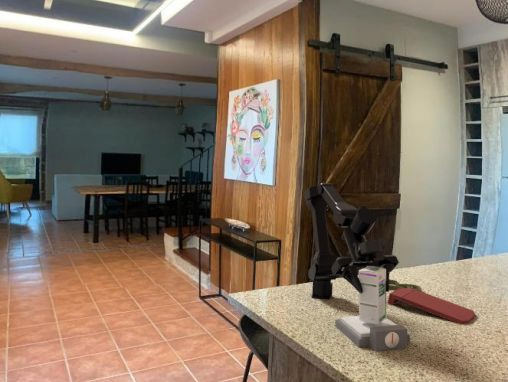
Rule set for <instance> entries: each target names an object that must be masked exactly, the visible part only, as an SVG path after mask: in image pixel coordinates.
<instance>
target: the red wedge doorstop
mask: <svg viewBox="0 0 508 382" xmlns="http://www.w3.org/2000/svg"><path fill="white" fill-rule="evenodd" d="M388 293H389V295H388V299H387V302H386V305H387V304H388V305H392V306H394V305H396V304H397V303H400V302H402V303H405V304H408V305H410V306H413V307H415V308H418V309H420V310H422V311H425V312H427V313H429V314H432V315H435V316H437V317H441V318H443V319H445V320H447V321H448V320H449V321H451V322H453V323H455V324H459V325H466V324H469V323H471V322H472V320H474V319H475V317H476V313H475V311H474V310H473V309H470V308H467V307H464V306H462V305H460V304H456V303H454V302H451V301H448V300H446V299H443V298H440V297H437V296H434V295H432V294H429V293H426V292H423V291H422V292H421V291H418V290H415V289H407V288H402V289H400V288H399V289H397V290H393V291H391V292H388Z"/></svg>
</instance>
